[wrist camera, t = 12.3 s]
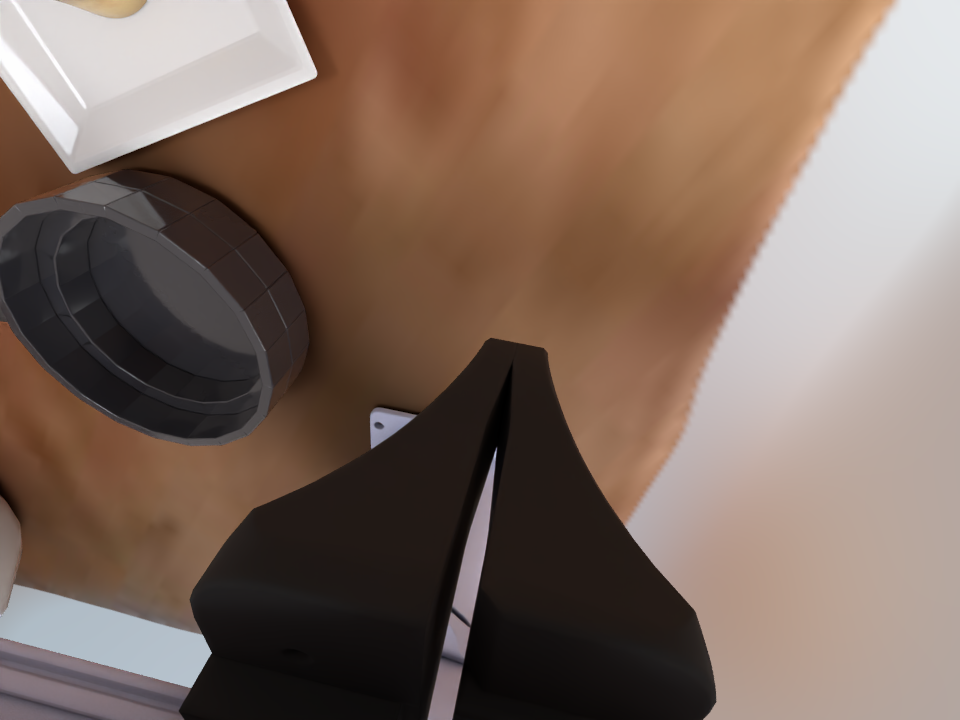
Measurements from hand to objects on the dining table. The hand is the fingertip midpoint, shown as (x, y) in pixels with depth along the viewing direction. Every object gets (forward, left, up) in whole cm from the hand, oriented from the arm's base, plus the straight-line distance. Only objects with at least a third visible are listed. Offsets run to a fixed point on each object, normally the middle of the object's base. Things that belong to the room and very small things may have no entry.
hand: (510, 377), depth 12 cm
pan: (-6, +16, -9) cm, 20 cm away
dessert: (+7, +16, -10) cm, 20 cm away
